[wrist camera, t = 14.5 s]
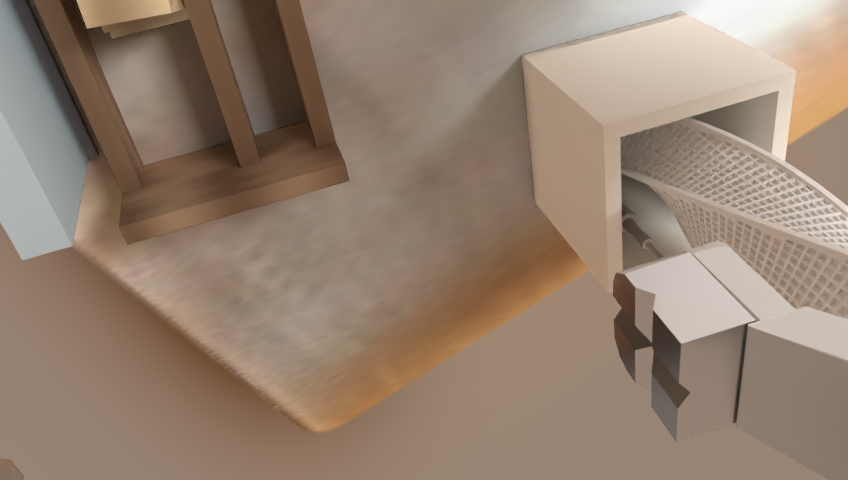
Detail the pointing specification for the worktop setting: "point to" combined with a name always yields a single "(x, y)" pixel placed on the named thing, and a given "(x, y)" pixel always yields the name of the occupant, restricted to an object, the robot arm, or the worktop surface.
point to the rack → (213, 167)
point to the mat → (55, 77)
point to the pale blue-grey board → (35, 149)
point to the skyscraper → (745, 208)
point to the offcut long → (152, 23)
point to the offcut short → (120, 10)
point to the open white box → (638, 125)
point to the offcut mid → (176, 5)
